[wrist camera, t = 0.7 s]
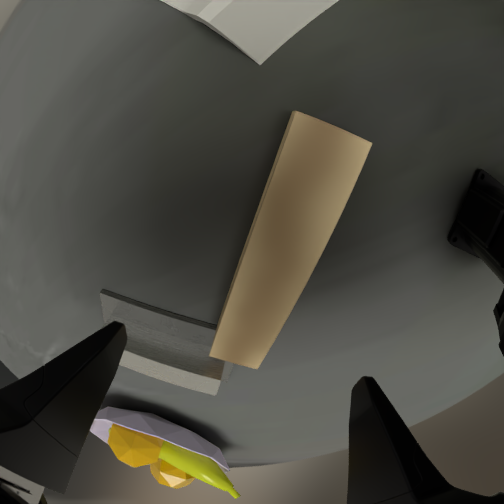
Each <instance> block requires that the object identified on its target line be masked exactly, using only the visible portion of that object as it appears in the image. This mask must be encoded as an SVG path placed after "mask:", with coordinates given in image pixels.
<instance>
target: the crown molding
mask: <svg viewBox="0 0 504 504" xmlns="http://www.w3.org/2000/svg"><path fill="white" fill-rule="evenodd" d="M160 1H162V2H164V3H166V4H168V5H170V6H172V7H174V8H175V9H177V10H179V11H181V12H183V13H184V14H186V15H188V16H189V17H191V18H193V19H195V20H197V21H199V22H202V23H204V24H205V25H207V26H208V27H209V28H211V29H212V30H214V31H215V32H217V33H218V34H220V35H221V36H223V37H224V38H225V39H227V40H228V41H230V42H231V43H233V44H234V45H235V46H236V47H237V48H239V49H240V50H241V51H242V52H243V53H245V54H246V55H247V56H249V57H250V58H251V59H253V60H254V61H255V62H256V63H258V64H259V65H261V64H262V63H263V62H264V61H265V60H266V59H267V58H268V57H269V56H270V55H272V54H273V53H274V52H275V51H276V50H277V49H278V48H279V47H280V46H282V45H283V44H284V43H285V42H286V41H287V40H288V39H290V38H291V37H292V36H293V35H294V34H296V33H297V32H298V31H299V30H300V29H302V28H303V27H304V26H305V25H307V24H308V23H309V22H310V21H312V20H313V19H314V18H316V17H317V16H318V15H320V14H321V13H322V12H324V11H325V10H326V9H328V8H329V7H330V6H332V5H333V4H335V3H336V2H337V1H339V0H160Z"/></svg>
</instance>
